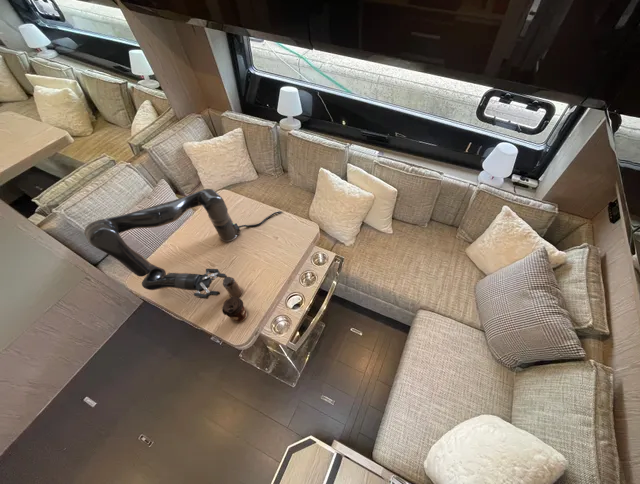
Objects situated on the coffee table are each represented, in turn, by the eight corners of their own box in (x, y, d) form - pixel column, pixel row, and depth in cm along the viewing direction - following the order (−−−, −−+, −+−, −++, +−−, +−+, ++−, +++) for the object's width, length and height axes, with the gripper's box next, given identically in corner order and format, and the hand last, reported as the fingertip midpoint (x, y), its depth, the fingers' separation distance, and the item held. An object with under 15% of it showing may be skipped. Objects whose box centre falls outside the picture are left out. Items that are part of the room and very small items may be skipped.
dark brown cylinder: (238, 328, 124) (230, 318, 114) (226, 318, 127) (216, 307, 117) (253, 312, 129) (245, 301, 119) (240, 303, 132) (232, 291, 122)
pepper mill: (235, 287, 137) (226, 273, 126) (244, 290, 136) (235, 277, 125) (228, 296, 134) (218, 283, 123) (237, 299, 133) (228, 287, 122)
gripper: (177, 292, 122) (213, 295, 121) (192, 264, 131) (226, 267, 131) (185, 299, 127) (219, 302, 127) (198, 272, 137) (230, 274, 136)
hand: (222, 284), depth 129 cm, fingers open, 8 cm apart
